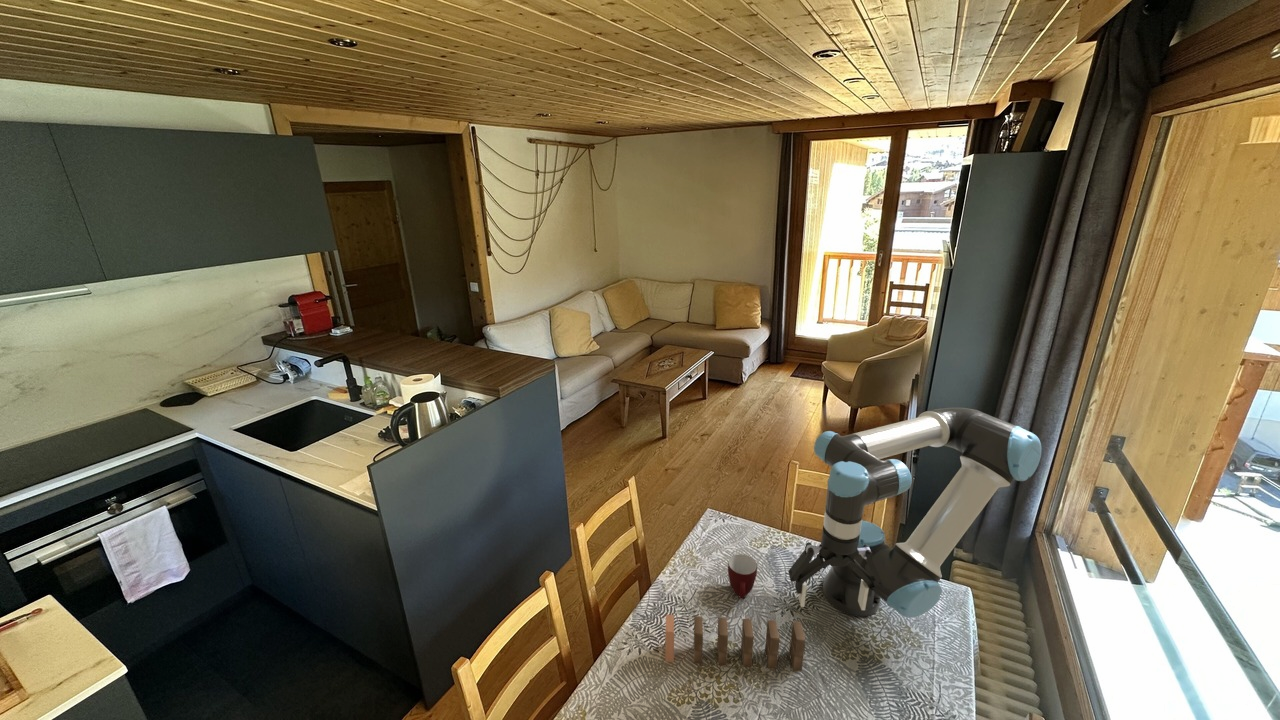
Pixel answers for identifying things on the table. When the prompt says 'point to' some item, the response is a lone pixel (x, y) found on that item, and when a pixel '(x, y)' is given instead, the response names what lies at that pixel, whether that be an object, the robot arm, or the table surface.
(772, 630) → the domino
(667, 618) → the domino
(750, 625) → the domino
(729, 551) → the table surface
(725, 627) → the domino
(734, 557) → the mug
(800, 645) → the domino
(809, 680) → the table surface
